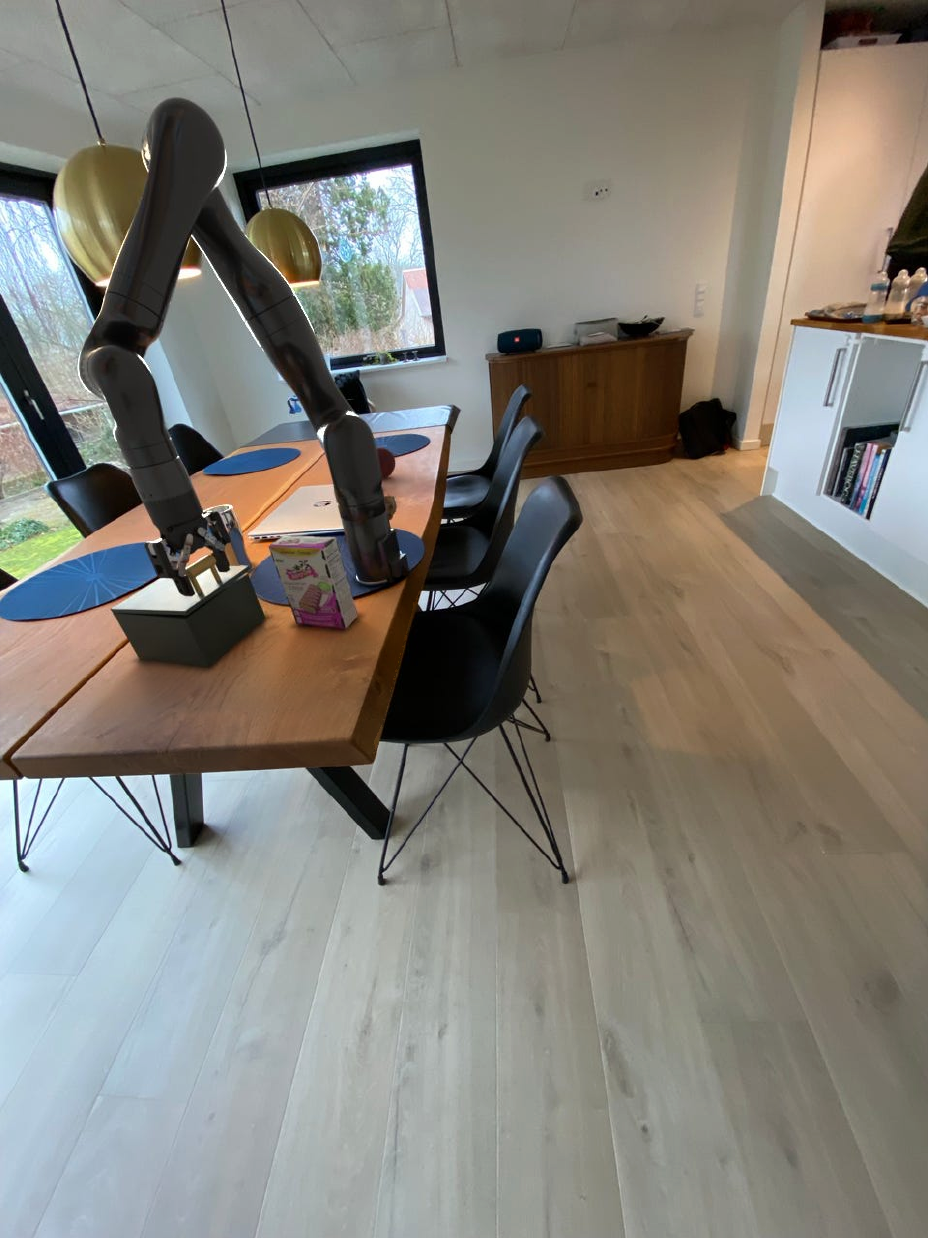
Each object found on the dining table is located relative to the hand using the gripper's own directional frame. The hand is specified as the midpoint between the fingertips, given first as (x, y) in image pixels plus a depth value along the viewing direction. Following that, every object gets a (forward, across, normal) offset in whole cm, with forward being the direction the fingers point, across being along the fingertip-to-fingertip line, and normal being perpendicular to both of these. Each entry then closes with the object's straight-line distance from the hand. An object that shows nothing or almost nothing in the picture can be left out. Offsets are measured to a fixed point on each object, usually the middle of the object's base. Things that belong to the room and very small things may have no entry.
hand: (208, 582), depth 87 cm
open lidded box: (+12, 0, +7) cm, 14 cm away
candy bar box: (+12, +8, -15) cm, 21 cm away
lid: (+2, 0, +6) cm, 7 cm away
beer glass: (+12, +26, +20) cm, 35 cm away
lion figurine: (+12, +48, -5) cm, 50 cm away
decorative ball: (+12, +94, +15) cm, 96 cm away
